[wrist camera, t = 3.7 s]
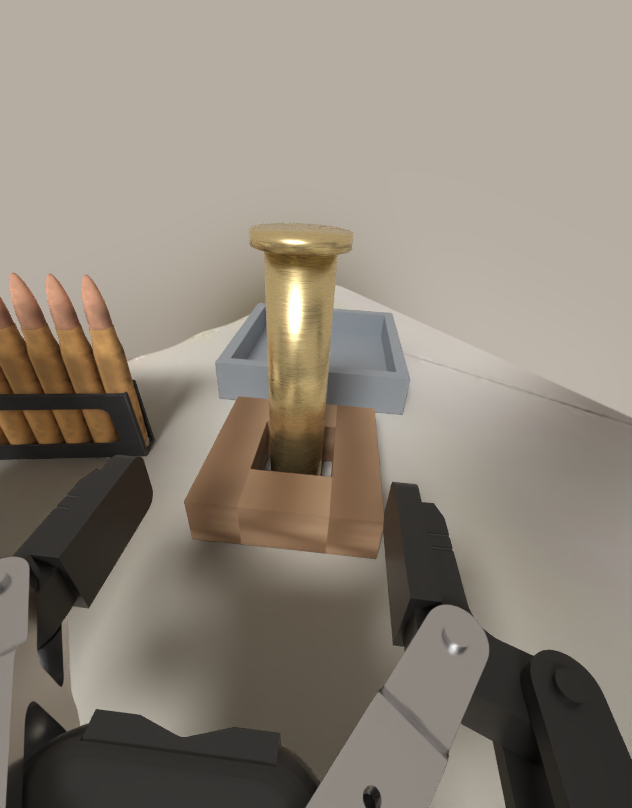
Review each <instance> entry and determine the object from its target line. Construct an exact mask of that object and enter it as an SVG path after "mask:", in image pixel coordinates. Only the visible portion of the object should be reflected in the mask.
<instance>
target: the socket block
mask: <svg viewBox="0 0 632 808" xmlns="http://www.w3.org/2000/svg"><path fill="white" fill-rule="evenodd" d="M268 455H270V425H269V399H263V398H252V397H240V396H238V398H237V400H236V402H235V404H234V406H233V407H232V409H231V411H230V413H229V415H228V417H227V419H226V421H225V423H224V425H223V427H222V429H221V431H220V433H219V435H218V437H217V439H216V440H215V442H214V444H213V446H212V448H211V450H210V452H209V454H208V456H207V458H206V460H205V462H204V464H203V466H202V468H201V470H200V472H199V473H198V475H197V477H196V479H195V481H194V483H193V485H192V487H191V489H190V491H189V493H188V495H187V497H186V499H185V501H184V504H185V508H186V512H187V517H188V521H189V525H190V530H191V534H192V538H193V539H198V540H207V541H216V542H225V543H235V544H244V545H253V546H262V547H271V548H281V549H290V550H299V551H308V552H317V553H326V554H336V555H345V556H354V557H363V558H372V559H376V556H377V552H378V548H379V544H380V539H381V535H382V531H383V523H384V511H383V499H382V488H381V477H380V466H379V454H378V443H377V432H376V421H375V409H374V408H364V407H353V406H342V405H331V404H326V410H325V424H324V437H323V450H322V460H326V461H332V472H331V477H325V476H315V475H305V474H295V473H285V472H274V471H264V467H265V464H266V461H267V457H268Z"/></svg>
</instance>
